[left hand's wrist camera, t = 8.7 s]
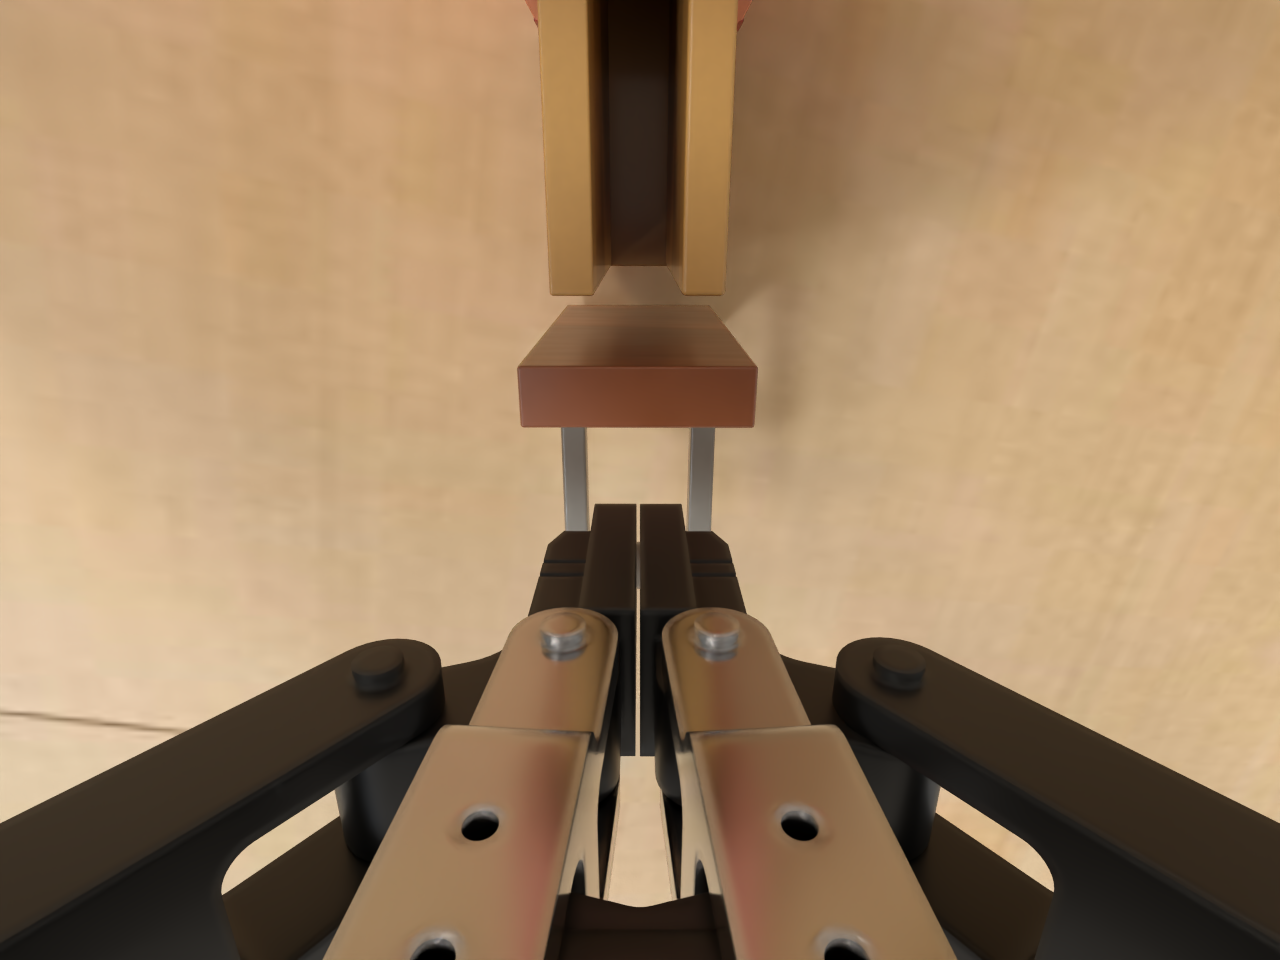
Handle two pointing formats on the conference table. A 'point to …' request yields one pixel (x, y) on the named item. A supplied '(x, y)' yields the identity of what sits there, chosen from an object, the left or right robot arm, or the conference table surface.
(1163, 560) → the conference table surface
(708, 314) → the drawer
